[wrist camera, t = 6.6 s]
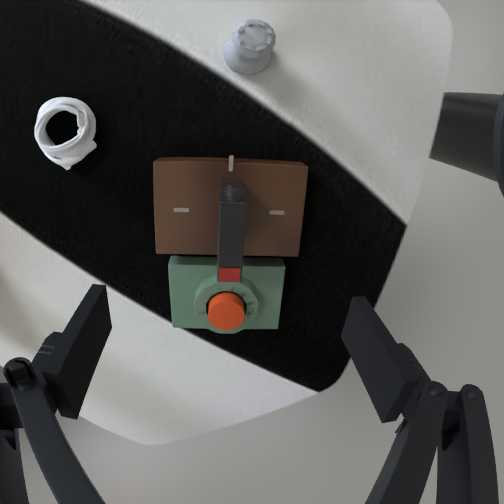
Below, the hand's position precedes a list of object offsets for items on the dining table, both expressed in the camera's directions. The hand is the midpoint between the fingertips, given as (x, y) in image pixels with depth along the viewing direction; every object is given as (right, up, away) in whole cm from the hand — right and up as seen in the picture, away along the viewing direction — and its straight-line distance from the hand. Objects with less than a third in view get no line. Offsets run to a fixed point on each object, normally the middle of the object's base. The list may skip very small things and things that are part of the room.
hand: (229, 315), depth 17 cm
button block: (-2, -1, +20) cm, 20 cm away
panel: (-1, +8, +16) cm, 18 cm away
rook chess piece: (+1, +22, +10) cm, 24 cm away
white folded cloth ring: (-18, +16, +11) cm, 26 cm away
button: (-2, -2, +17) cm, 17 cm away
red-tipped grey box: (-1, +7, +13) cm, 15 cm away
